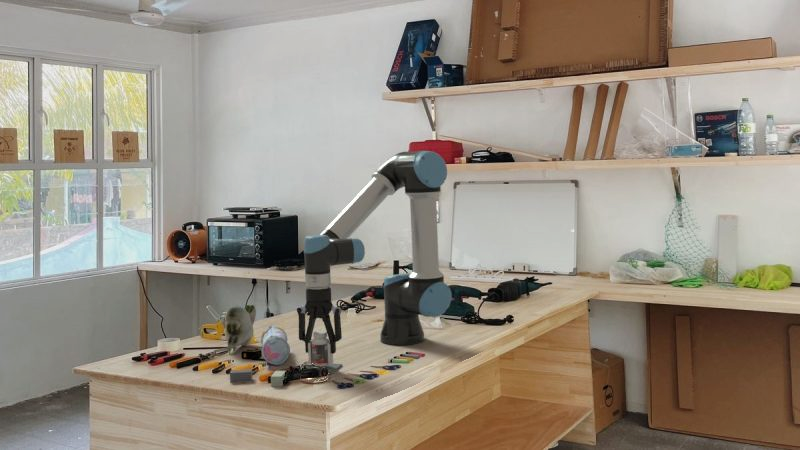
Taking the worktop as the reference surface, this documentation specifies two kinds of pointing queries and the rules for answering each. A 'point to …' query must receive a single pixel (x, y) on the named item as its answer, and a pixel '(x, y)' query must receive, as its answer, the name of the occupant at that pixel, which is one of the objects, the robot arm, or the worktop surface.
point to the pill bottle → (320, 348)
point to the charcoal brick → (241, 375)
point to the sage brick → (277, 378)
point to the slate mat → (332, 368)
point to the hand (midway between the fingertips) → (321, 363)
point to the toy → (239, 326)
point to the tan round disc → (312, 380)
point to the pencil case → (275, 345)
